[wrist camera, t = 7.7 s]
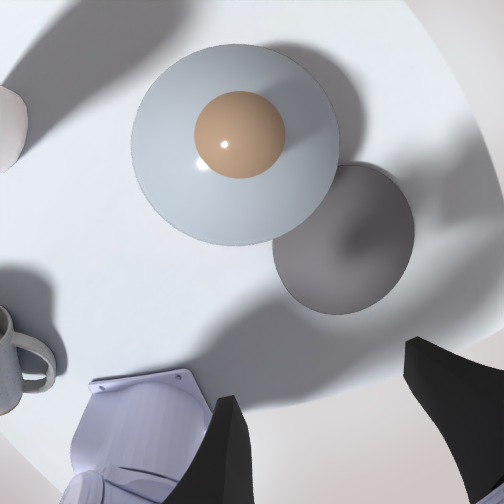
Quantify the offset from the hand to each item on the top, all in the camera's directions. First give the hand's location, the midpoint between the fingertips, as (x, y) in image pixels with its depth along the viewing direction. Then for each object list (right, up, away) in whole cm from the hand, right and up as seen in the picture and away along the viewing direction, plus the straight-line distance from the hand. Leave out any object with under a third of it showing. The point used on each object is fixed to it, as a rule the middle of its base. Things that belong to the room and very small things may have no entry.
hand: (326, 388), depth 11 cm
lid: (-4, +10, +3) cm, 11 cm away
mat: (+3, +6, +8) cm, 11 cm away
